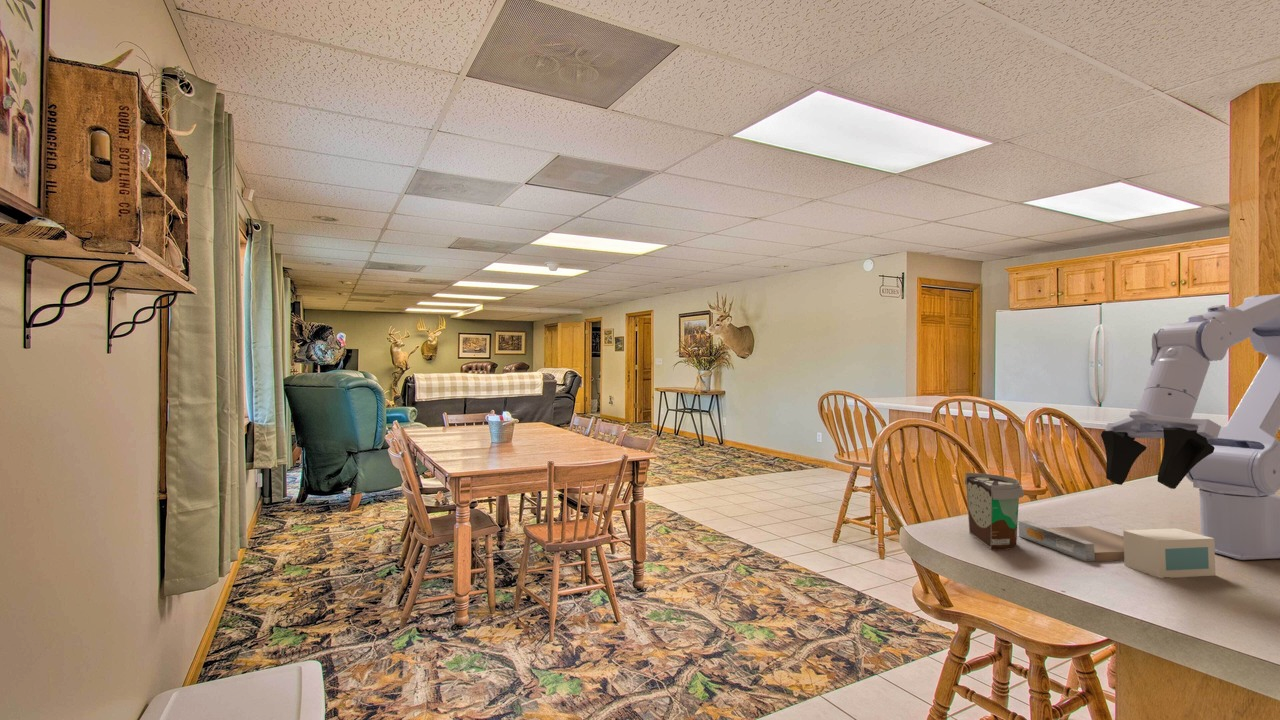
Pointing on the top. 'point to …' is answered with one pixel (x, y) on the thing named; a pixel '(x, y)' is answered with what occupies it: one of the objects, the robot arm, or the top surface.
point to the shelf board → (1098, 541)
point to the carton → (1169, 552)
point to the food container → (993, 509)
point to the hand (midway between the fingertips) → (1138, 483)
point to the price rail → (1057, 541)
